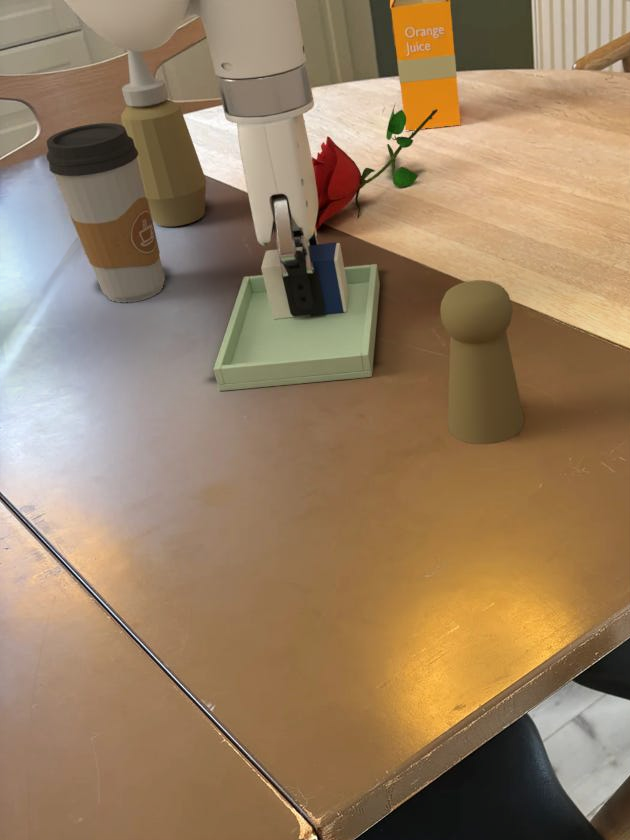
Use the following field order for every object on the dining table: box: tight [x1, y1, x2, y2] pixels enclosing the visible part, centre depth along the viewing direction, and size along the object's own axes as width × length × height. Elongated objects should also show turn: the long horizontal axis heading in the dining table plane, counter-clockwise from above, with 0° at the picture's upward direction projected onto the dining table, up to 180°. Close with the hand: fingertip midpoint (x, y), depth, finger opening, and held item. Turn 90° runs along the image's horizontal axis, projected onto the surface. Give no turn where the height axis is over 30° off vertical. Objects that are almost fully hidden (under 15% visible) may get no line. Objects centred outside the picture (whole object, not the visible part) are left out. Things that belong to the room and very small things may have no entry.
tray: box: [213, 263, 381, 392], centre depth 93 cm, size 13×19×2 cm
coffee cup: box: [46, 122, 166, 304], centre depth 100 cm, size 8×8×15 cm
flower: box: [311, 102, 438, 231], centre depth 118 cm, size 9×9×30 cm
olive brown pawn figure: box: [439, 279, 525, 445], centre depth 76 cm, size 6×6×11 cm
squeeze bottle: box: [120, 50, 207, 227], centre depth 114 cm, size 8×8×18 cm
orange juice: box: [389, 0, 461, 131], centre depth 134 cm, size 8×9×20 cm
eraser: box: [260, 242, 349, 319], centre depth 95 cm, size 7×4×5 cm, turn 93°
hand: (310, 300), depth 96 cm, fingers closed on eraser, 4 cm apart
